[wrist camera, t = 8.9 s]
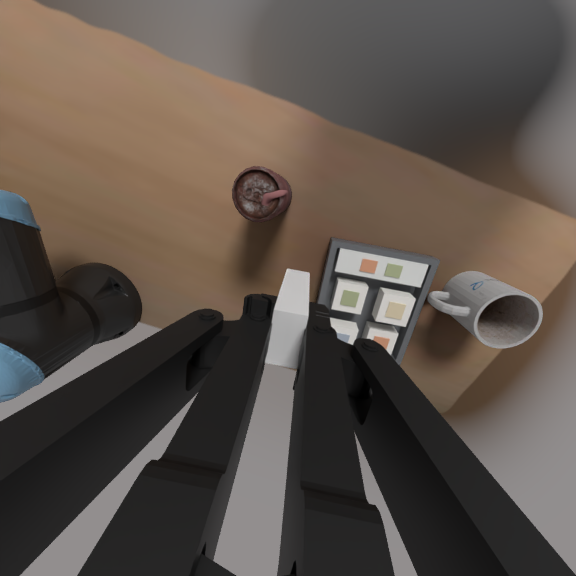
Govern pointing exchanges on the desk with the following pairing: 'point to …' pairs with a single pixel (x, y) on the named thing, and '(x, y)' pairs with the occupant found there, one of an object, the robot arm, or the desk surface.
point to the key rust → (381, 334)
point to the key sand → (393, 307)
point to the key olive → (349, 295)
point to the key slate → (345, 330)
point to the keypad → (377, 282)
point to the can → (260, 194)
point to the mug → (489, 309)
